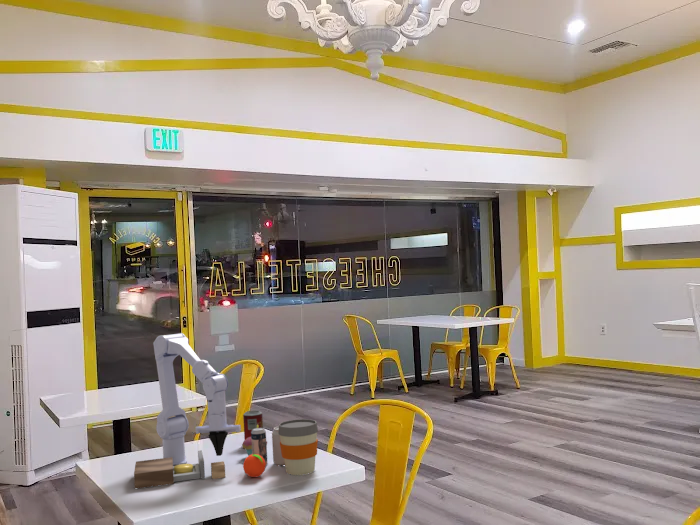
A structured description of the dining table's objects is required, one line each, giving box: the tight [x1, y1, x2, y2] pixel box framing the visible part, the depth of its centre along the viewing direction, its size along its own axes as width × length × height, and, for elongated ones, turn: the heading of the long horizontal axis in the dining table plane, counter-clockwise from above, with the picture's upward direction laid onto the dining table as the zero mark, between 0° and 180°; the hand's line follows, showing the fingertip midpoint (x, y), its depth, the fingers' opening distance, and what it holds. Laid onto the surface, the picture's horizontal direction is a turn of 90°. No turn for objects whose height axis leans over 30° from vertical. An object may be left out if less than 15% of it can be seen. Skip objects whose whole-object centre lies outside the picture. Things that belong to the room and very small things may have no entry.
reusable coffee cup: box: [278, 418, 319, 476], centre depth 209 cm, size 12×13×15 cm
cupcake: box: [241, 425, 268, 457], centre depth 229 cm, size 9×8×12 cm
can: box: [271, 425, 285, 467], centre depth 219 cm, size 8×8×12 cm
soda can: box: [242, 410, 264, 441], centre depth 247 cm, size 7×7×12 cm
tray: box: [173, 450, 206, 483], centre depth 211 cm, size 14×12×6 cm
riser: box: [210, 460, 226, 480], centre depth 208 cm, size 4×4×4 cm
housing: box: [133, 457, 175, 489], centre depth 208 cm, size 15×11×4 cm
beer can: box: [251, 427, 268, 466], centre depth 217 cm, size 5×5×12 cm
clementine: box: [242, 454, 267, 478], centre depth 205 cm, size 8×7×7 cm
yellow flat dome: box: [173, 463, 193, 474], centre depth 211 cm, size 6×6×2 cm
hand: (219, 454), depth 214 cm, fingers closed
